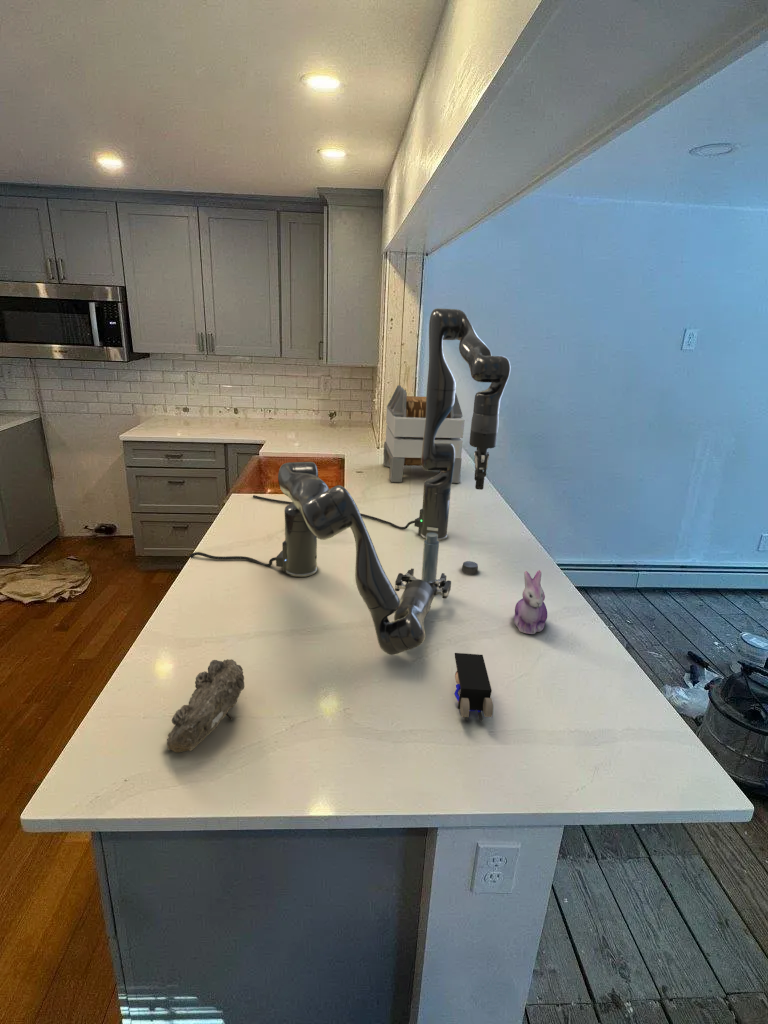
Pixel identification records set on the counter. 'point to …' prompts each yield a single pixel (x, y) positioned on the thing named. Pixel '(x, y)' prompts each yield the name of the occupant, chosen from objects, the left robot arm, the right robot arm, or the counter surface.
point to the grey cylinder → (430, 557)
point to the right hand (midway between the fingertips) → (478, 484)
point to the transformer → (417, 433)
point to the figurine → (531, 606)
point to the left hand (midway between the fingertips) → (427, 573)
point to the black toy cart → (472, 685)
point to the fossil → (206, 705)
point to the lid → (470, 567)
